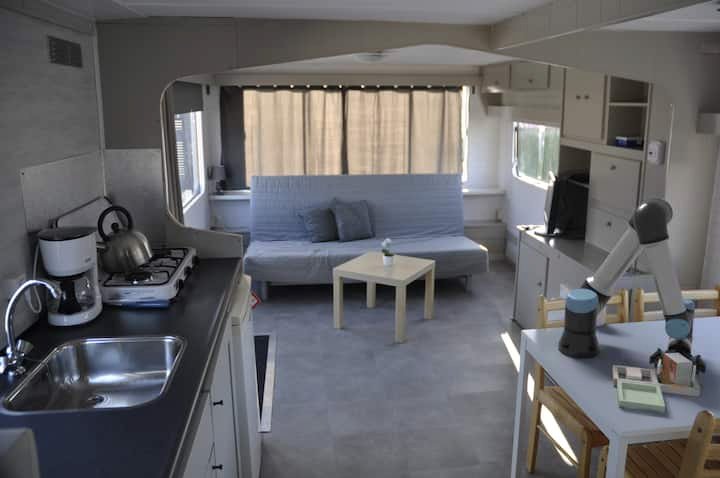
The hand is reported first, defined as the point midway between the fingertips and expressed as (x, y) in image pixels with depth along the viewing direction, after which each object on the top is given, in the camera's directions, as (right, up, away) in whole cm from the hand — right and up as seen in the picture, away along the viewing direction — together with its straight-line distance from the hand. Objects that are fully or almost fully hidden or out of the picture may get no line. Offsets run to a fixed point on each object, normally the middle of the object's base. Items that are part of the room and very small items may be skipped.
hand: (675, 373), depth 200 cm
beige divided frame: (-4, -5, +7) cm, 10 cm away
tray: (-14, -8, -4) cm, 16 cm away
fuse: (-10, -5, +9) cm, 15 cm away
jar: (-2, +7, +64) cm, 64 cm away
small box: (+2, -6, +5) cm, 8 cm away
